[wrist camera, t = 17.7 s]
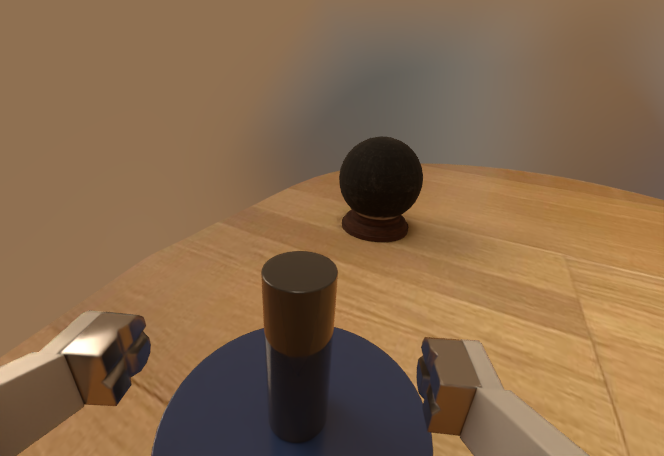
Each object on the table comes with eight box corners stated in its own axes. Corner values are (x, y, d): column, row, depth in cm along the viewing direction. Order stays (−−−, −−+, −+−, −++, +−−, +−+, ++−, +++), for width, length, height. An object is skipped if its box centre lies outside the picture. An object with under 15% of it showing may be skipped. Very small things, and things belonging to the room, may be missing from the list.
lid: (79, 513, 12) (-18, 328, 8) (257, 315, 22) (251, 191, 18) (402, 727, 8) (492, 574, 5) (439, 375, 18) (477, 235, 14)
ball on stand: (426, 226, 58) (443, 139, 51) (389, 254, 48) (404, 151, 42) (363, 206, 65) (371, 127, 58) (320, 226, 55) (324, 135, 49)
